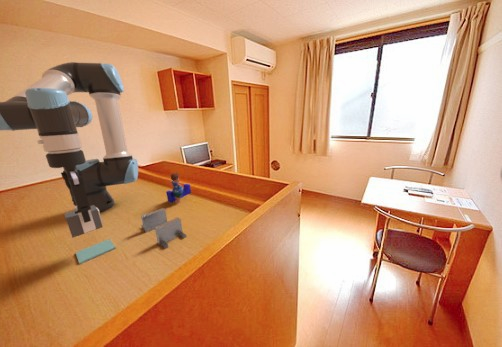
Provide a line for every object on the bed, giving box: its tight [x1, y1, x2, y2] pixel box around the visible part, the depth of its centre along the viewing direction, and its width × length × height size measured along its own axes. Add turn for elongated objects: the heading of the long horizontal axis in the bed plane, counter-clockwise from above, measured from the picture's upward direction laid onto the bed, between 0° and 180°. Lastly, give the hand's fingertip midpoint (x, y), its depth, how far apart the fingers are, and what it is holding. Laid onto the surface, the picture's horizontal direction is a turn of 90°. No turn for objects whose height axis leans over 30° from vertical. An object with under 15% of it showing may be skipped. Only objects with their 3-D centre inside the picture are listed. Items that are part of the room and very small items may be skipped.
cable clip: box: [166, 183, 192, 204], centre depth 99 cm, size 12×4×6 cm, turn 150°
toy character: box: [167, 172, 184, 204], centre depth 92 cm, size 12×5×15 cm, turn 48°
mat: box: [75, 238, 116, 265], centre depth 62 cm, size 7×9×1 cm
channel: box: [140, 207, 188, 249], centre depth 70 cm, size 19×8×6 cm, turn 48°
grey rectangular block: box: [63, 205, 104, 238], centre depth 58 cm, size 5×7×6 cm
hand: (88, 227), depth 59 cm, fingers closed on grey rectangular block, 5 cm apart
